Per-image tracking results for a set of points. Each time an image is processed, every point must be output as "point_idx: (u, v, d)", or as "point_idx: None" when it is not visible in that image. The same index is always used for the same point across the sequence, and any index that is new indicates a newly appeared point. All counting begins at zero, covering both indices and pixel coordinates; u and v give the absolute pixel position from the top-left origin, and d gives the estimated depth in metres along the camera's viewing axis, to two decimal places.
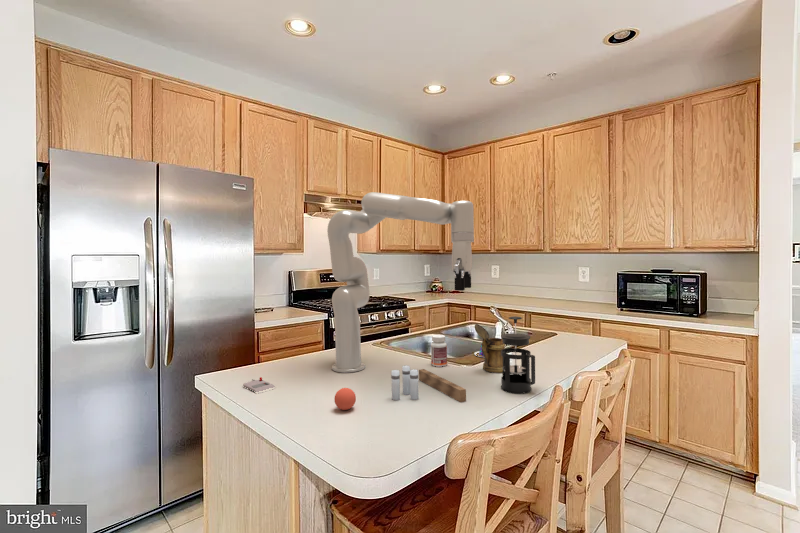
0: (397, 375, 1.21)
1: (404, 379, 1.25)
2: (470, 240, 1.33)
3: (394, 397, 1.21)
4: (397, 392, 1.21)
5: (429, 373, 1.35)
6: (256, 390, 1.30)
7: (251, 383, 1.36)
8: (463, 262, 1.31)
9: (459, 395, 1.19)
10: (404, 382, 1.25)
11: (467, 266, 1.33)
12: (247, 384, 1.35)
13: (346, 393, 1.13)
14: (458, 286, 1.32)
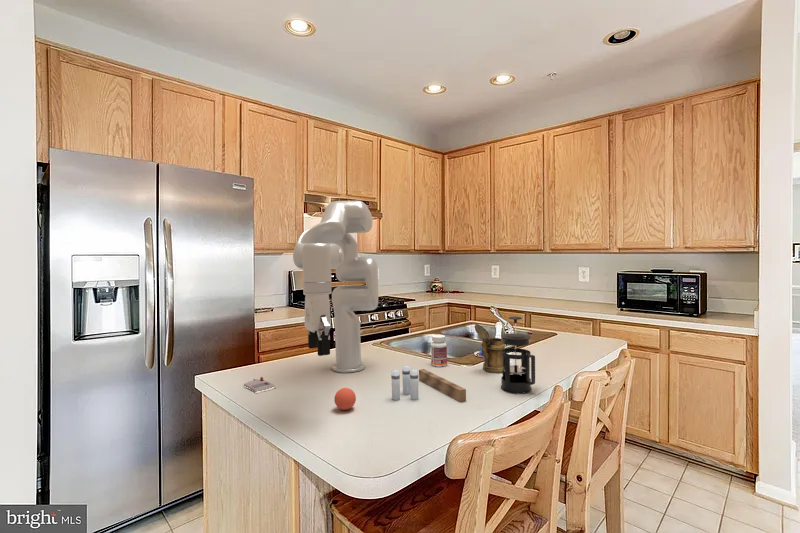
0: (397, 375, 1.21)
1: (404, 379, 1.25)
2: (330, 291, 1.10)
3: (394, 397, 1.21)
4: (397, 392, 1.21)
5: (429, 373, 1.35)
6: (256, 390, 1.30)
7: (252, 383, 1.36)
8: (328, 319, 1.07)
9: (459, 395, 1.19)
10: (404, 382, 1.25)
11: None
12: (248, 384, 1.35)
13: (346, 393, 1.13)
14: (324, 350, 1.05)
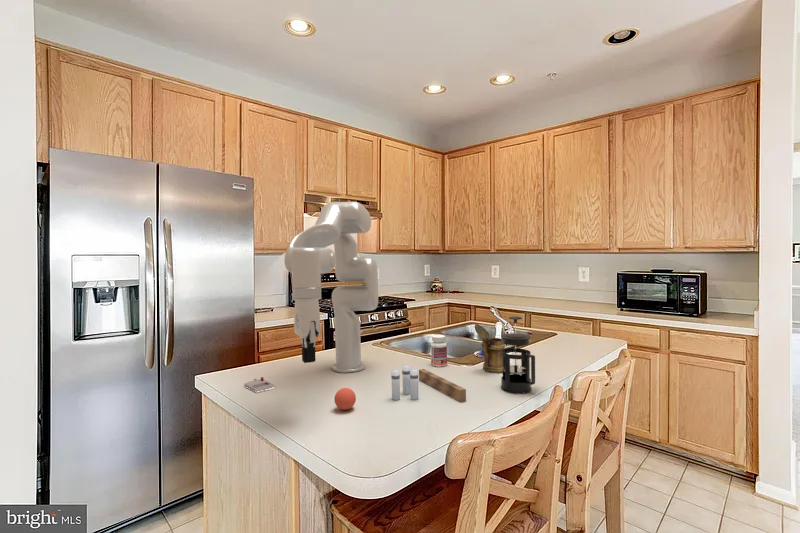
0: (397, 375, 1.21)
1: (404, 379, 1.25)
2: (320, 296, 1.09)
3: (394, 397, 1.21)
4: (397, 392, 1.21)
5: (429, 373, 1.35)
6: (256, 390, 1.30)
7: (252, 383, 1.36)
8: (318, 325, 1.05)
9: (459, 395, 1.19)
10: (404, 382, 1.25)
11: None
12: (248, 383, 1.36)
13: (346, 393, 1.13)
14: (309, 357, 1.08)
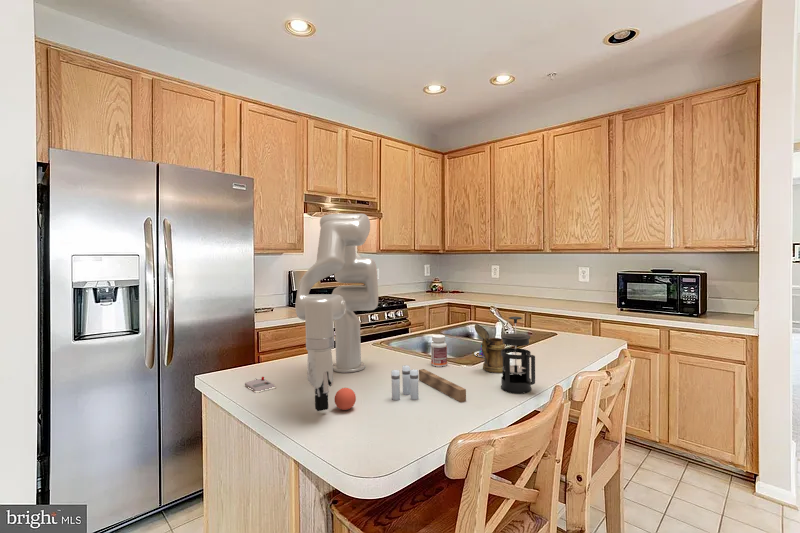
0: (397, 375, 1.21)
1: (404, 379, 1.25)
2: (333, 346, 1.10)
3: (394, 397, 1.21)
4: (397, 392, 1.21)
5: (429, 373, 1.35)
6: (256, 389, 1.30)
7: (253, 382, 1.37)
8: (331, 376, 1.07)
9: (459, 395, 1.19)
10: (404, 382, 1.25)
11: None
12: (249, 383, 1.36)
13: (346, 393, 1.13)
14: (322, 406, 1.10)
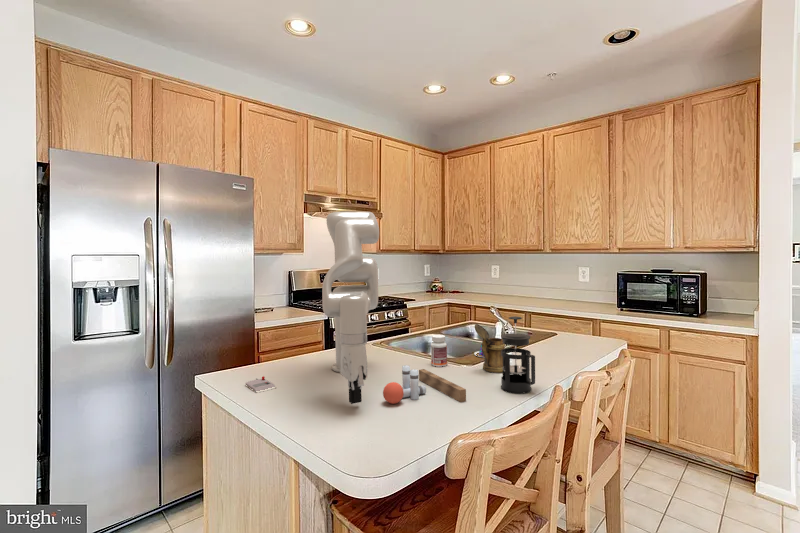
0: (423, 391, 1.25)
1: (404, 379, 1.25)
2: (366, 341, 1.15)
3: None
4: (408, 394, 1.23)
5: (429, 373, 1.35)
6: (256, 389, 1.31)
7: (253, 382, 1.37)
8: (365, 369, 1.12)
9: (459, 395, 1.19)
10: (404, 382, 1.25)
11: None
12: (249, 383, 1.36)
13: (388, 400, 1.16)
14: (356, 399, 1.15)
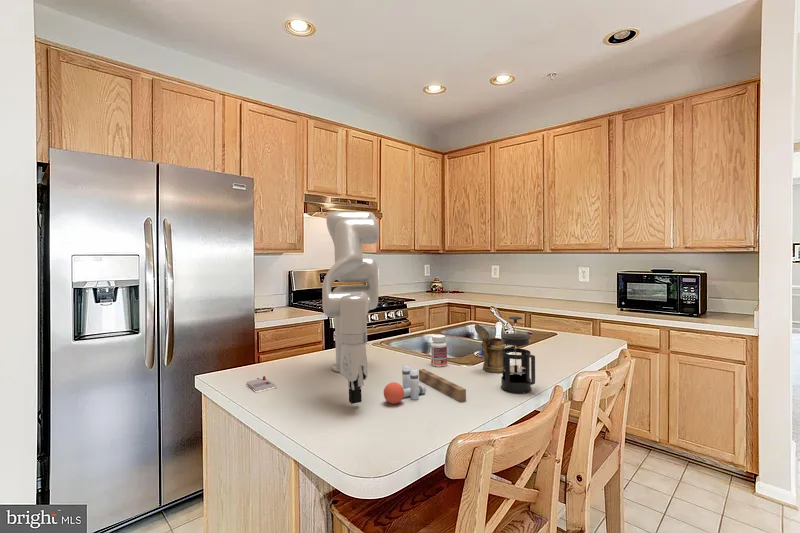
0: (422, 391, 1.25)
1: (404, 379, 1.25)
2: (366, 341, 1.15)
3: None
4: (408, 393, 1.23)
5: (429, 373, 1.35)
6: (256, 389, 1.31)
7: (254, 382, 1.37)
8: (365, 369, 1.12)
9: (459, 395, 1.19)
10: (404, 382, 1.25)
11: None
12: (250, 382, 1.37)
13: (388, 399, 1.16)
14: (356, 399, 1.15)
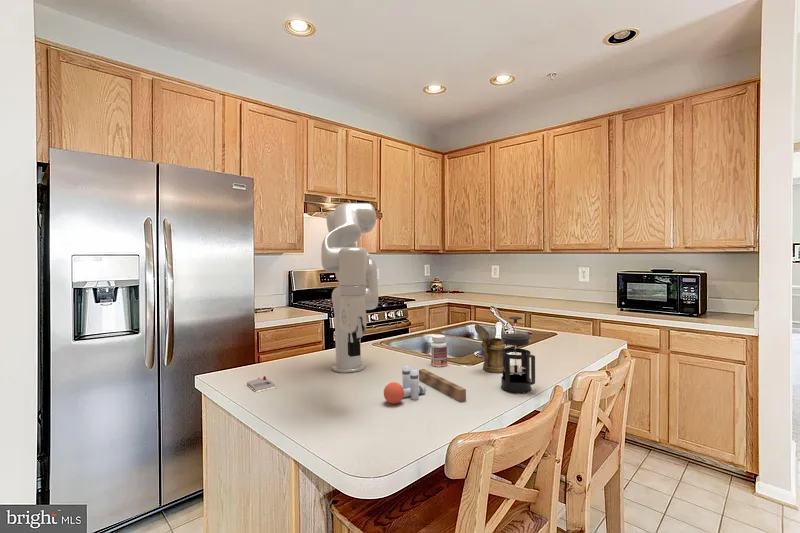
0: (422, 391, 1.25)
1: (404, 379, 1.25)
2: (365, 294, 1.15)
3: None
4: (408, 393, 1.23)
5: (429, 373, 1.35)
6: (256, 389, 1.31)
7: (254, 381, 1.37)
8: (364, 321, 1.11)
9: (459, 395, 1.19)
10: (404, 382, 1.25)
11: None
12: (250, 382, 1.37)
13: (388, 399, 1.16)
14: (355, 351, 1.14)
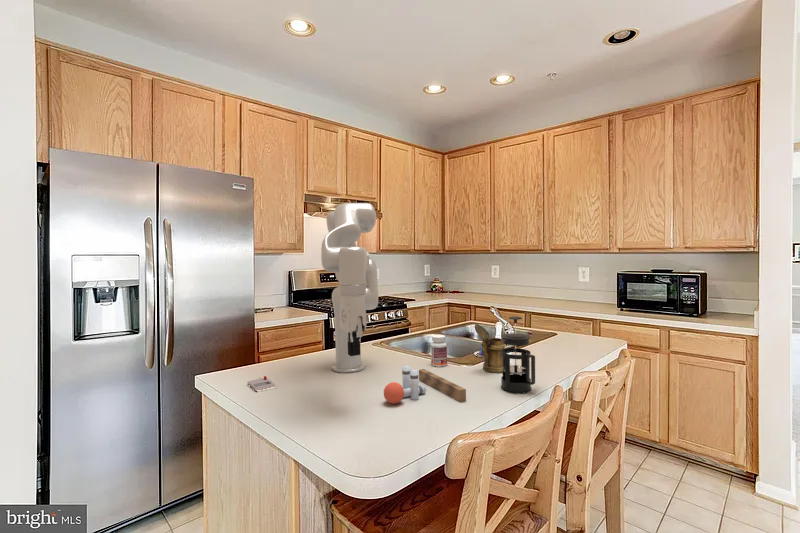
0: (422, 391, 1.25)
1: (404, 379, 1.25)
2: (365, 293, 1.15)
3: None
4: (408, 394, 1.23)
5: (429, 373, 1.35)
6: (256, 389, 1.31)
7: (255, 381, 1.38)
8: (364, 320, 1.11)
9: (459, 395, 1.19)
10: (404, 382, 1.25)
11: None
12: (251, 382, 1.37)
13: (388, 399, 1.16)
14: (355, 351, 1.14)
